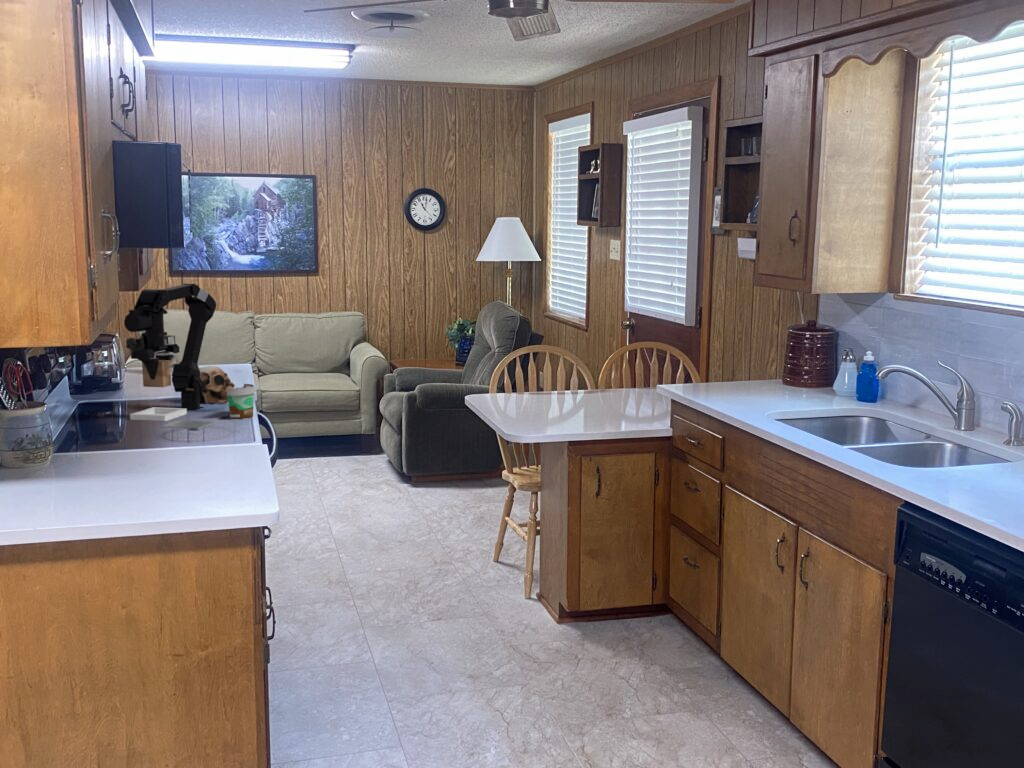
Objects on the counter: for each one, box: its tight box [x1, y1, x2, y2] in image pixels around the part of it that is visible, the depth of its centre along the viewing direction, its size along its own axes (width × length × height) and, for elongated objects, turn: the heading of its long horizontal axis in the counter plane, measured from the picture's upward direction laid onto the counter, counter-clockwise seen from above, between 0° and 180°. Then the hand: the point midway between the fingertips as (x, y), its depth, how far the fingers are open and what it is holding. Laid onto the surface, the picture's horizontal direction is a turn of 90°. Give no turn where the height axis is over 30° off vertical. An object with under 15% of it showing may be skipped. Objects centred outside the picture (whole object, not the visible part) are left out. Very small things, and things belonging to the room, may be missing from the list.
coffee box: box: [164, 334, 178, 373], centre depth 413 cm, size 9×6×16 cm
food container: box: [227, 383, 257, 420], centre depth 316 cm, size 12×6×10 cm, turn 168°
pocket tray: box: [129, 406, 188, 422], centre depth 314 cm, size 13×12×2 cm
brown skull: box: [199, 365, 236, 404], centre depth 346 cm, size 16×17×13 cm
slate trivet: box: [161, 419, 215, 431], centre depth 301 cm, size 10×12×1 cm
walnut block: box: [141, 360, 172, 388], centre depth 312 cm, size 4×7×8 cm, turn 78°
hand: (157, 378), depth 312 cm, fingers closed on walnut block, 4 cm apart
